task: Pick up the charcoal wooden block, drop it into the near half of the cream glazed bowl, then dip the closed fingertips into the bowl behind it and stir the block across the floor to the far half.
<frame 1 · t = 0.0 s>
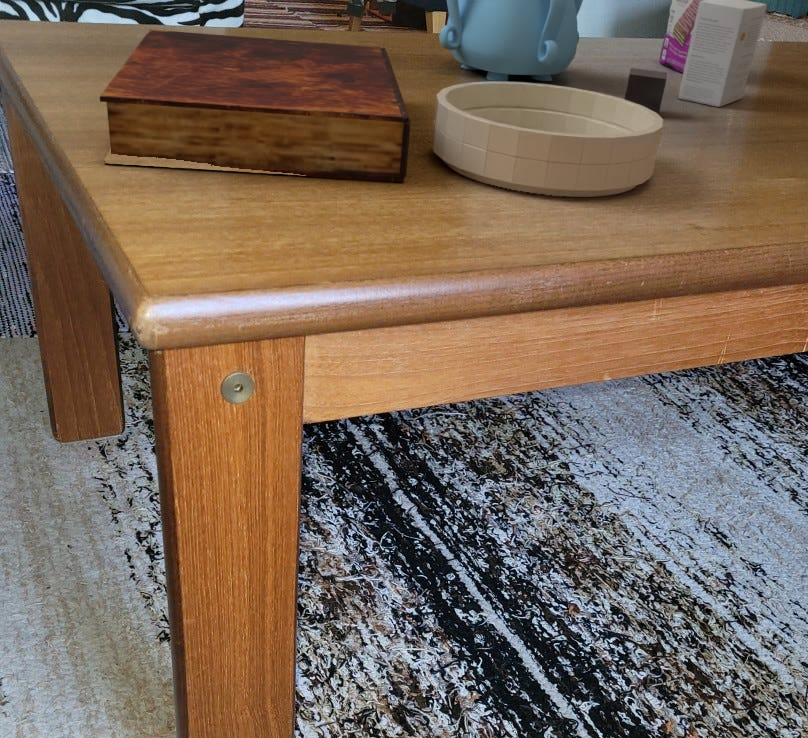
book: (264, 129, 91), on the table
small box: (709, 100, 120), on the table
candy bar box: (691, 74, 134), on the table
block: (640, 112, 110), on the table
bowl: (540, 166, 88), on the table
decorative pot: (505, 74, 122), on the table
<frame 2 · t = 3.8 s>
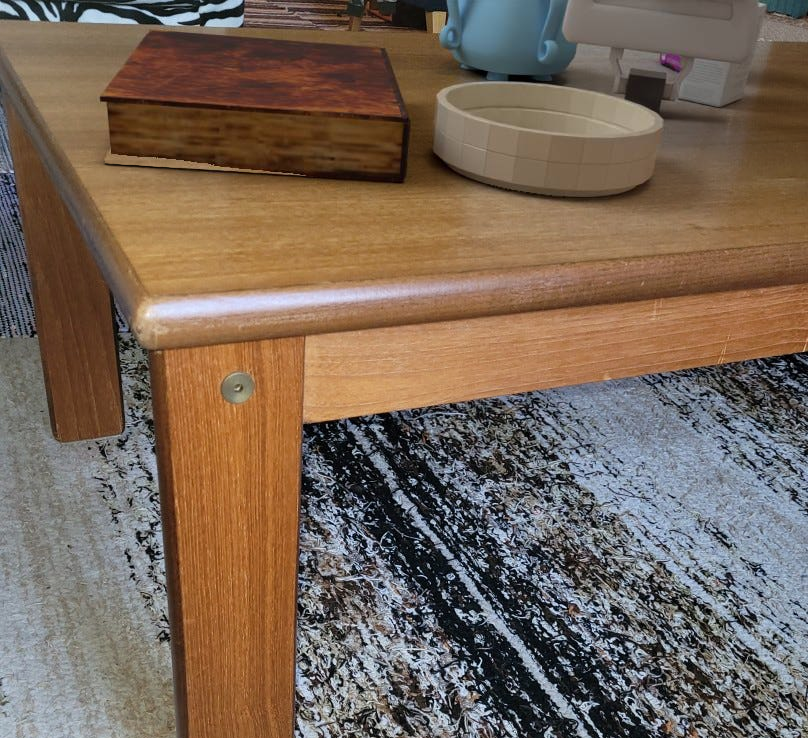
hand: (643, 96, 110), 2 cm above the table, tool pointing down, fingers closed on block, 4 cm apart
block: (640, 112, 110), on the table, touching gripper
everything else where it was.
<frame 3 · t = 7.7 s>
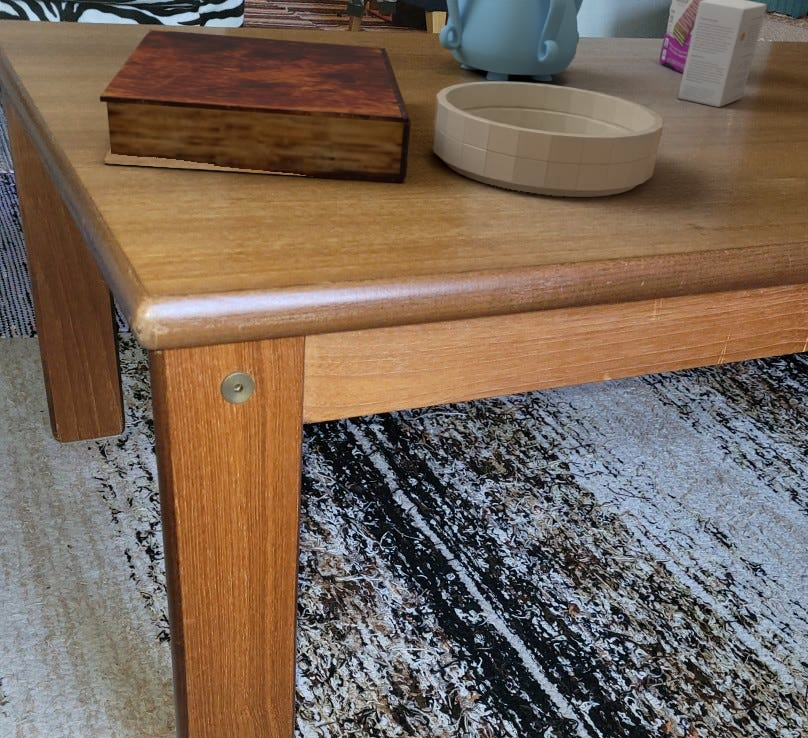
when the fingers open (2 cm above the table, at t = 11.5 s): block stays where it is, resting on bowl.
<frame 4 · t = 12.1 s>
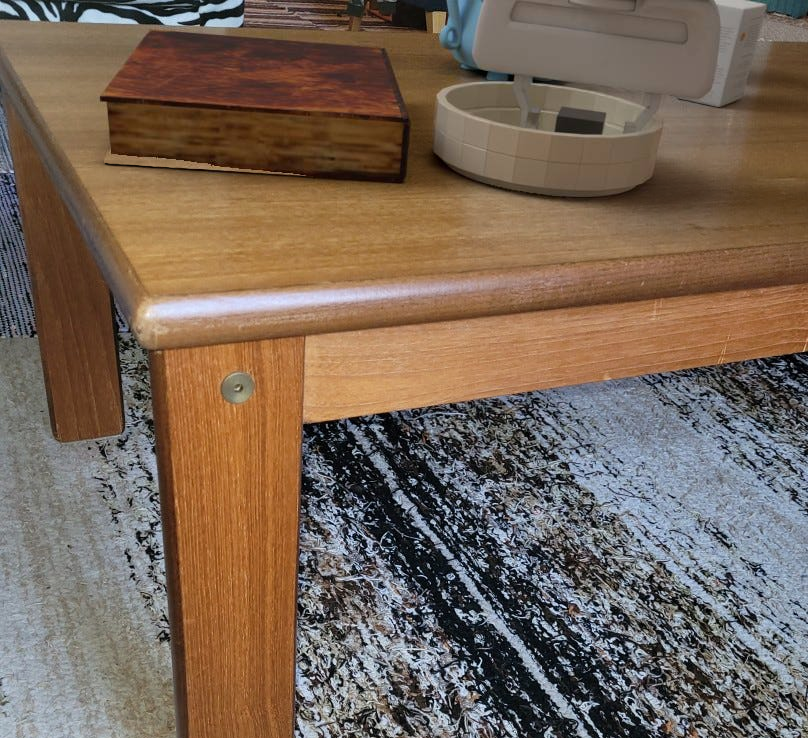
hand: (578, 138, 86), 3 cm above the table, tool pointing down, fingers open, 7 cm apart
block: (573, 161, 87), point 1 cm above the table, touching bowl
everything else where it was.
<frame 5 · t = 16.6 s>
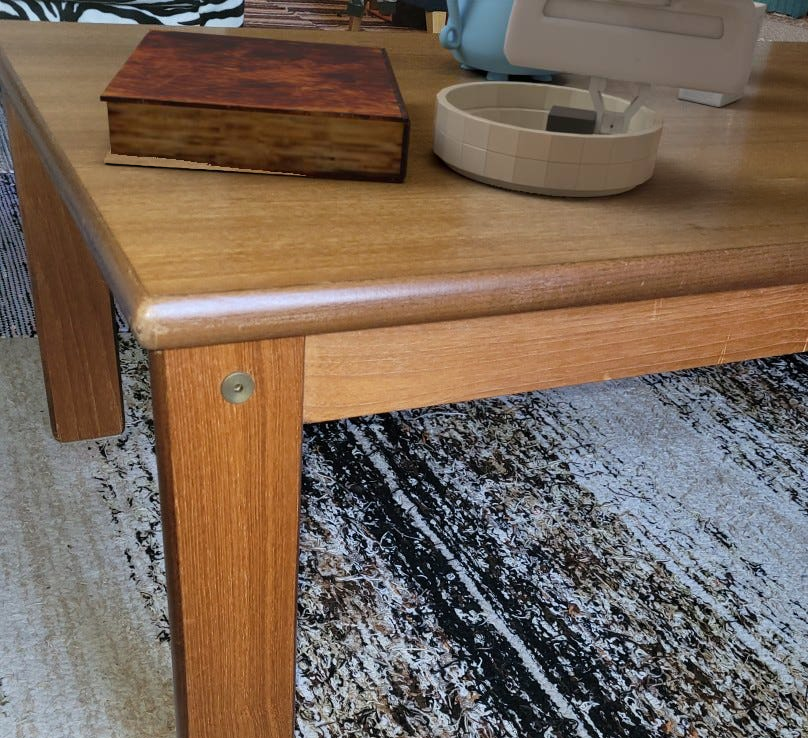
hand: (609, 135, 85), 3 cm above the table, tool pointing down, fingers closed
block: (565, 160, 88), point 1 cm above the table, touching gripper
everything else where it was.
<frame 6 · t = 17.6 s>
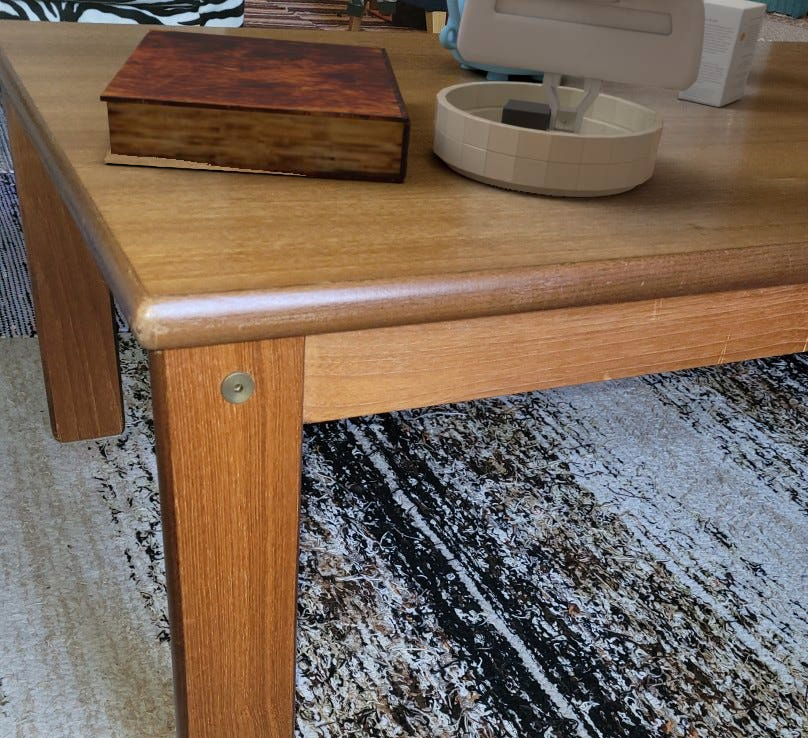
hand: (564, 130, 86), 3 cm above the table, tool pointing down, fingers closed
block: (521, 154, 88), point 1 cm above the table, touching bowl, gripper
everything else where it was.
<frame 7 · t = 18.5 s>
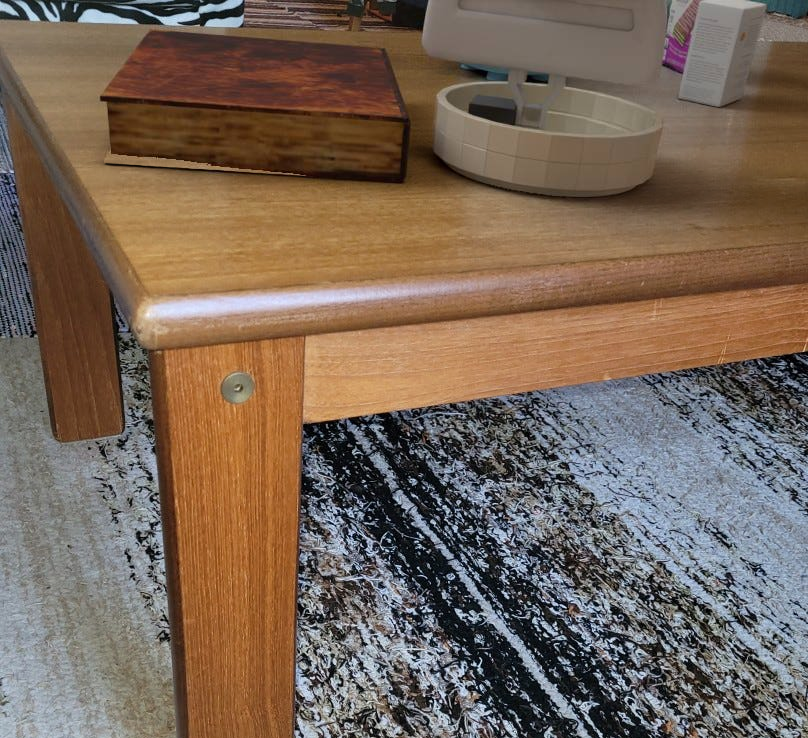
hand: (530, 127, 87), 3 cm above the table, tool pointing down, fingers closed
block: (489, 149, 89), point 1 cm above the table, touching bowl, gripper
everything else where it was.
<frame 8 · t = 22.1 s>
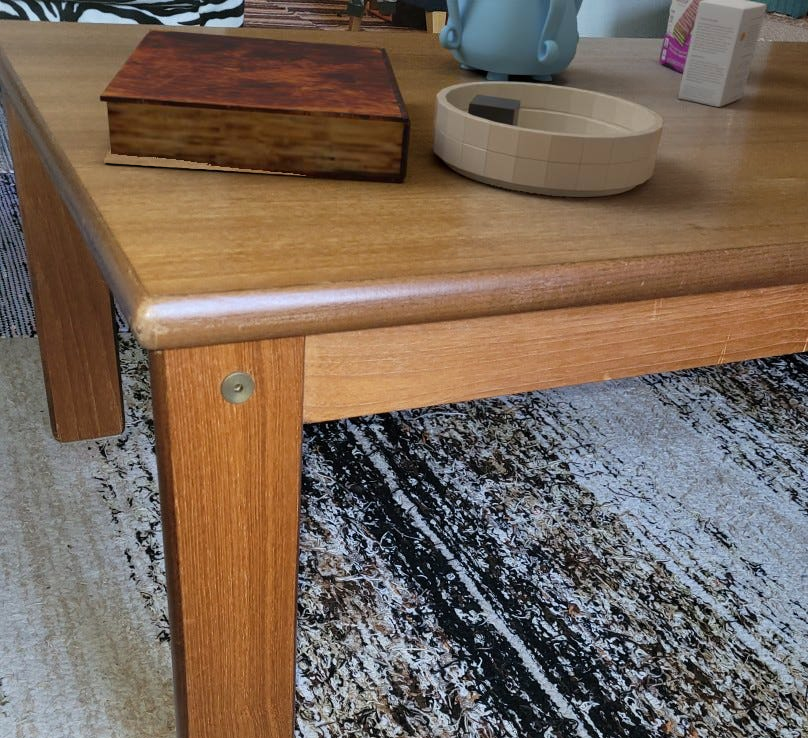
block: (489, 149, 89), point 1 cm above the table, touching bowl
everything else where it was.
at the end: block inside the target area in the bowl (4.8 cm from its centre), point 0.8 cm above the bowl's base; block inside the target area in the bowl (0.5 cm from its centre), point 0.8 cm above the bowl's base; the gripper is holding nothing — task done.
